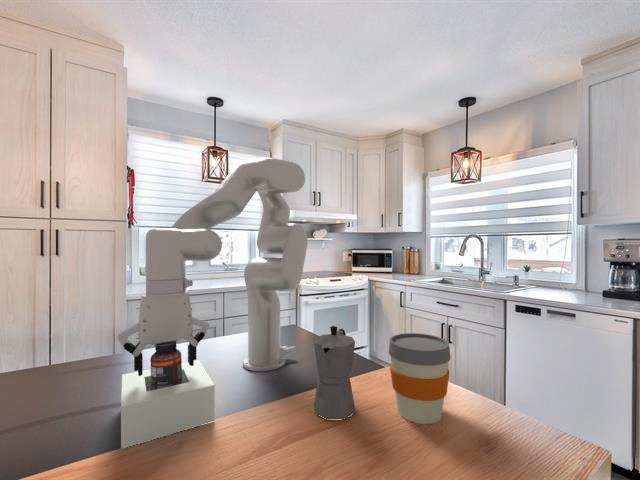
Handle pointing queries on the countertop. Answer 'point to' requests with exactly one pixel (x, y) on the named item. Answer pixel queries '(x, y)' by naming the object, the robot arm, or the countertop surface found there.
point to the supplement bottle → (166, 366)
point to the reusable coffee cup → (419, 375)
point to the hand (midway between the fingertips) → (166, 368)
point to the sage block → (165, 405)
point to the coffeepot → (334, 374)
